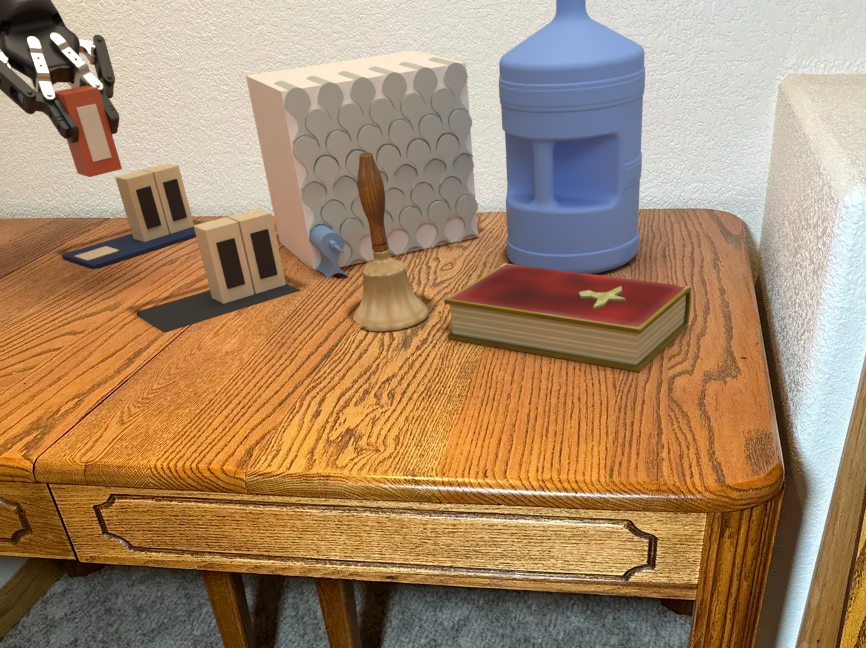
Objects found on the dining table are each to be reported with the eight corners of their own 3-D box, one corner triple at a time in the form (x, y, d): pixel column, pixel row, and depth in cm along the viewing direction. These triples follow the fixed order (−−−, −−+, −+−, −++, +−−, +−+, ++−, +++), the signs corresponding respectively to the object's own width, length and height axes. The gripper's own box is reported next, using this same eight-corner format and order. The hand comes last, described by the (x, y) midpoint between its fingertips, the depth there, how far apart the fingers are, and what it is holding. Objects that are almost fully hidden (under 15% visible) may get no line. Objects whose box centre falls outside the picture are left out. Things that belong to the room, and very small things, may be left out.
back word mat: (94, 269, 119) (71, 199, 114) (62, 258, 124) (38, 191, 119) (209, 232, 129) (192, 166, 123) (174, 223, 134) (157, 160, 128)
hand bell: (372, 338, 94) (346, 168, 83) (340, 316, 99) (312, 154, 89) (442, 318, 96) (426, 152, 86) (407, 297, 102) (388, 139, 92)
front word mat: (165, 337, 98) (141, 255, 93) (134, 316, 104) (109, 239, 99) (301, 294, 106) (286, 216, 100) (265, 277, 111) (249, 203, 106)
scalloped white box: (336, 291, 106) (303, 99, 93) (279, 241, 123) (245, 73, 110) (506, 252, 112) (497, 68, 100) (430, 210, 129) (414, 48, 117)
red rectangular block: (90, 177, 100) (64, 94, 95) (77, 173, 102) (51, 92, 97) (123, 169, 102) (99, 87, 97) (110, 165, 104) (86, 85, 99)
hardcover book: (508, 299, 100) (505, 259, 97) (689, 325, 90) (692, 282, 87) (447, 338, 92) (443, 296, 89) (638, 371, 83) (640, 326, 80)
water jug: (547, 232, 117) (541, -37, 99) (659, 244, 110) (675, -43, 92) (482, 270, 108) (463, -21, 90) (601, 286, 100) (606, -26, 83)
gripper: (-63, -27, 91) (33, 120, 92) (70, -43, 98) (158, 94, 99) (-58, 34, 97) (32, 171, 98) (67, 15, 105) (150, 143, 105)
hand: (95, 132), depth 98 cm, fingers closed on red rectangular block, 4 cm apart
